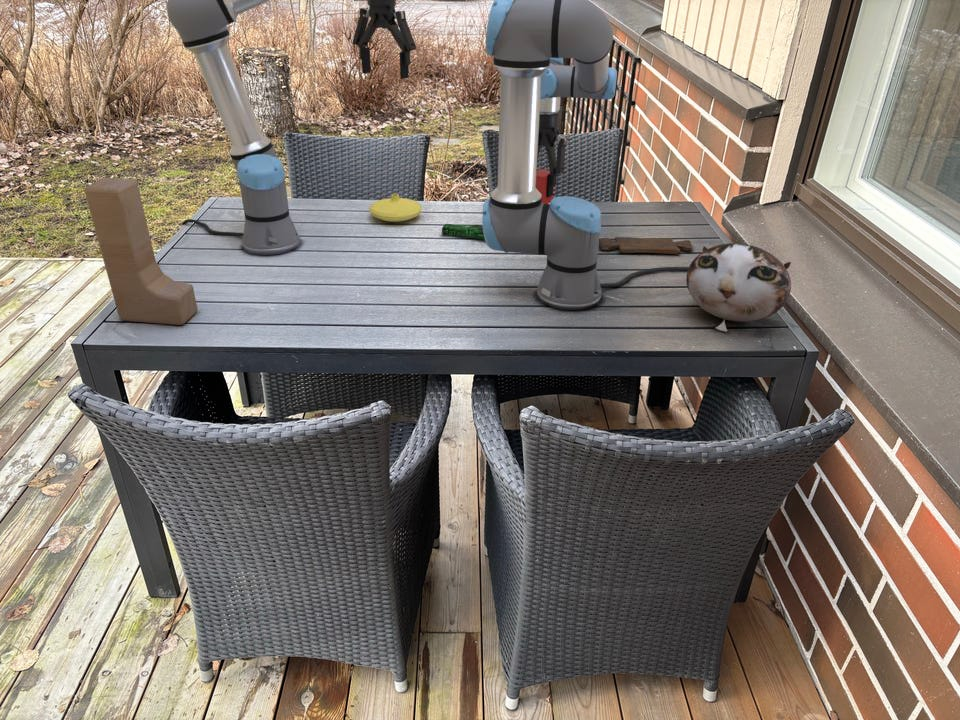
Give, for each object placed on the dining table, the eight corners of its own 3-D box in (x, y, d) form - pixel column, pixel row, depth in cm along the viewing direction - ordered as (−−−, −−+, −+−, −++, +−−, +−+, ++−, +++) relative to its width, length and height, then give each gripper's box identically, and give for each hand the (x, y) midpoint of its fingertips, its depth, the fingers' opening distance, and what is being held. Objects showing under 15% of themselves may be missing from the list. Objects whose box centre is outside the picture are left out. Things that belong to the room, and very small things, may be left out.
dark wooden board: (696, 256, 194) (688, 243, 203) (697, 250, 194) (689, 237, 202) (601, 253, 195) (597, 240, 203) (602, 247, 194) (598, 234, 202)
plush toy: (664, 307, 155) (693, 222, 157) (679, 329, 171) (705, 252, 172) (770, 332, 145) (800, 241, 146) (775, 353, 160) (802, 271, 162)
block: (552, 201, 210) (554, 171, 206) (542, 207, 206) (544, 177, 201) (538, 198, 212) (540, 168, 208) (527, 204, 208) (529, 174, 203)
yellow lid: (393, 205, 227) (392, 183, 223) (432, 216, 219) (432, 193, 215) (359, 219, 216) (357, 196, 212) (398, 230, 208) (397, 207, 204)
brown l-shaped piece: (183, 326, 156) (152, 191, 140) (118, 321, 157) (81, 187, 142) (199, 311, 162) (172, 180, 147) (137, 306, 164) (103, 176, 148)
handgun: (511, 219, 210) (493, 234, 198) (511, 228, 211) (492, 244, 199) (461, 212, 215) (440, 226, 203) (461, 221, 217) (440, 236, 204)
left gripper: (427, -10, 183) (429, 78, 194) (354, -14, 195) (360, 69, 206) (409, -8, 178) (412, 82, 188) (335, -13, 189) (342, 72, 200)
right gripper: (581, 113, 194) (574, 196, 206) (524, 105, 202) (521, 185, 215) (568, 118, 189) (562, 203, 201) (511, 109, 197) (508, 192, 209)
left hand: (385, 75), depth 197 cm, fingers open, 13 cm apart
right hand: (541, 194), depth 208 cm, fingers closed on block, 5 cm apart
